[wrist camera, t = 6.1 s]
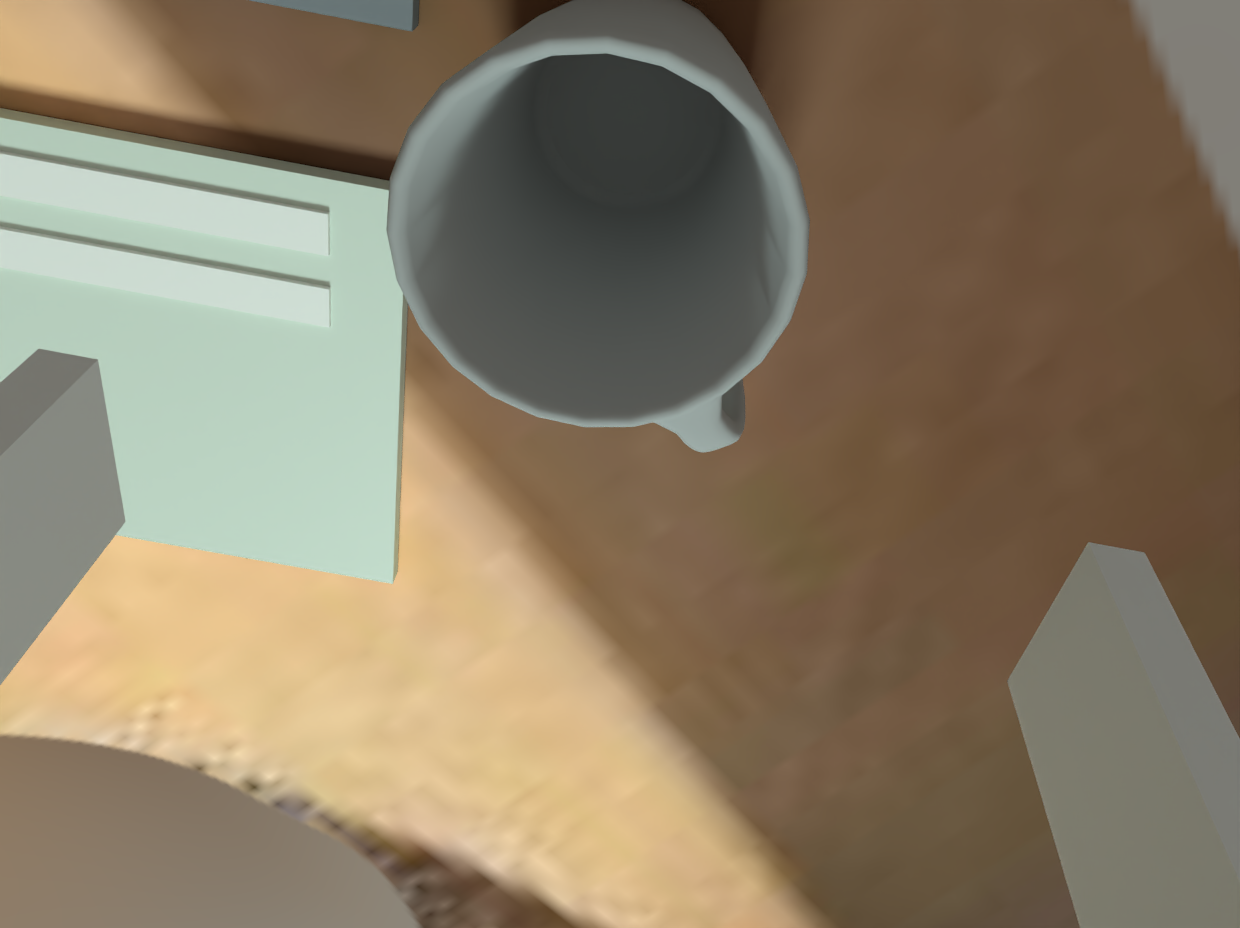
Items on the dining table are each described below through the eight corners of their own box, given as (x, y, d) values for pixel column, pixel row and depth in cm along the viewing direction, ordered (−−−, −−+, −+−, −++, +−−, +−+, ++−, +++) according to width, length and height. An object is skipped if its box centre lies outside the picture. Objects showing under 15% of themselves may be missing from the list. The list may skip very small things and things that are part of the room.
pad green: (-124, 84, 26) (-145, 93, 25) (412, 185, 26) (404, 195, 26) (-10, 500, 34) (-23, 514, 34) (397, 571, 35) (391, 587, 34)
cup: (713, -129, 22) (707, -61, 15) (859, 264, 27) (906, 450, 20) (419, 29, 24) (297, 149, 17) (604, 362, 29) (567, 558, 22)
